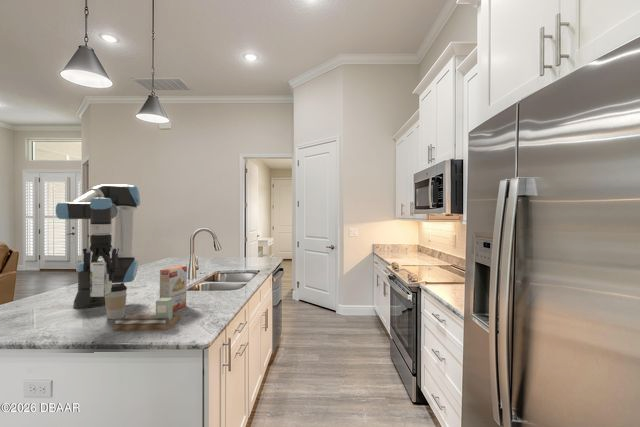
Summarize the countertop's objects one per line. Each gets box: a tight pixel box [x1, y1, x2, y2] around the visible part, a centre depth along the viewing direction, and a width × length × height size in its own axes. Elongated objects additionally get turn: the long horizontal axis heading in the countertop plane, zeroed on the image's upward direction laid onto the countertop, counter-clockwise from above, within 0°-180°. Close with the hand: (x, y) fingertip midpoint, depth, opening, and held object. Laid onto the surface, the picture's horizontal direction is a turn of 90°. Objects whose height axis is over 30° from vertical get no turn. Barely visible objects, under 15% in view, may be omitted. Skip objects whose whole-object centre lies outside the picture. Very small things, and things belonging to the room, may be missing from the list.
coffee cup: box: [105, 283, 128, 320], centre depth 151 cm, size 9×9×15 cm
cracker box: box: [158, 265, 188, 312], centre depth 163 cm, size 14×6×21 cm, turn 168°
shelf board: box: [112, 313, 182, 331], centre depth 141 cm, size 22×14×4 cm, turn 93°
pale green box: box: [155, 297, 174, 321], centre depth 140 cm, size 5×5×9 cm
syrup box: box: [90, 260, 112, 297], centre depth 138 cm, size 6×6×14 cm
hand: (101, 288), depth 138 cm, fingers closed on syrup box, 6 cm apart
